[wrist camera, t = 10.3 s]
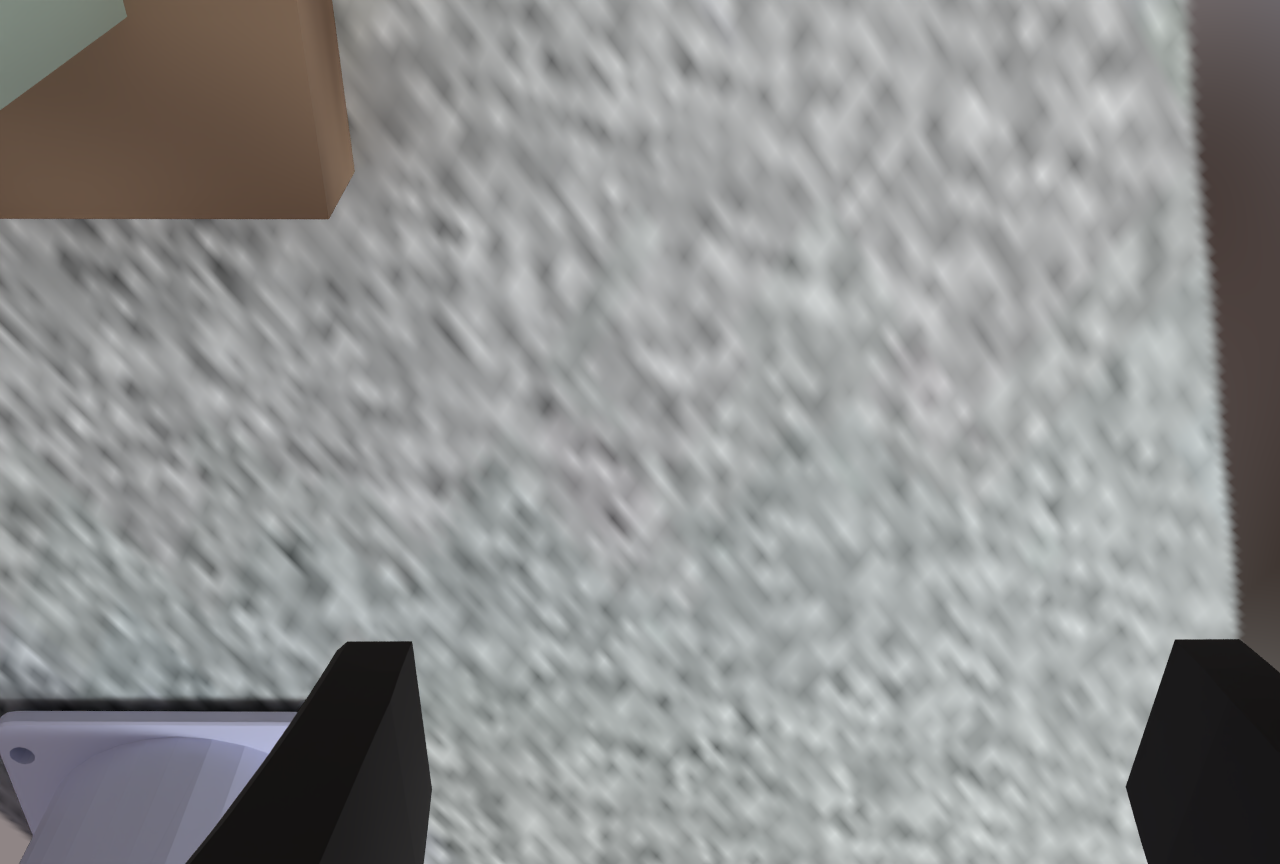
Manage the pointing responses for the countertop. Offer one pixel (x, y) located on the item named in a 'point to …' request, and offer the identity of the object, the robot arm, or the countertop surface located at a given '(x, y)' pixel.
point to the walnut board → (186, 118)
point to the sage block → (47, 37)
